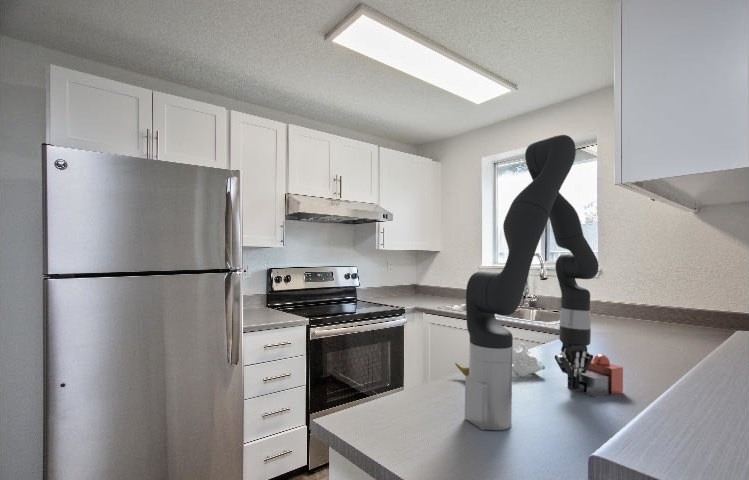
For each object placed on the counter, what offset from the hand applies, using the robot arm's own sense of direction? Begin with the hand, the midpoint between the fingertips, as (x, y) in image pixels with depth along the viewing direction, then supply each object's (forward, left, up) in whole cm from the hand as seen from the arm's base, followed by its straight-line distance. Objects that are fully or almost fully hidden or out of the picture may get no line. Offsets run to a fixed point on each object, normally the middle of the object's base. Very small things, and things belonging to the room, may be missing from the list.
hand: (573, 389), depth 101 cm
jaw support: (0, +18, -2) cm, 18 cm away
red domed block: (+9, 0, -1) cm, 9 cm away
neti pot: (-20, +16, -1) cm, 26 cm away
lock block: (+6, 0, -1) cm, 6 cm away
